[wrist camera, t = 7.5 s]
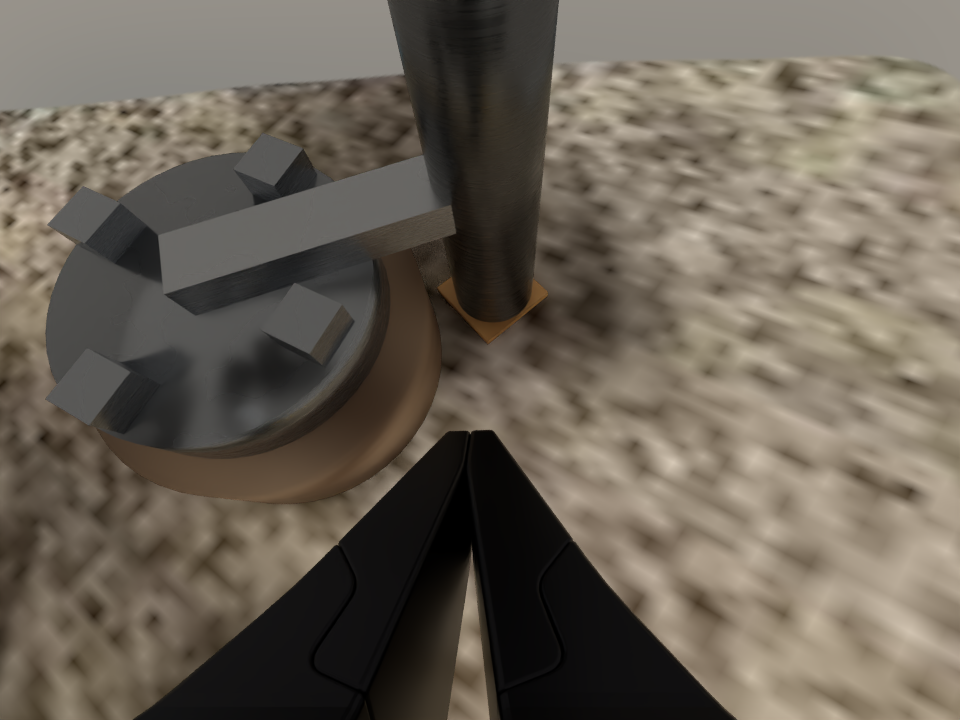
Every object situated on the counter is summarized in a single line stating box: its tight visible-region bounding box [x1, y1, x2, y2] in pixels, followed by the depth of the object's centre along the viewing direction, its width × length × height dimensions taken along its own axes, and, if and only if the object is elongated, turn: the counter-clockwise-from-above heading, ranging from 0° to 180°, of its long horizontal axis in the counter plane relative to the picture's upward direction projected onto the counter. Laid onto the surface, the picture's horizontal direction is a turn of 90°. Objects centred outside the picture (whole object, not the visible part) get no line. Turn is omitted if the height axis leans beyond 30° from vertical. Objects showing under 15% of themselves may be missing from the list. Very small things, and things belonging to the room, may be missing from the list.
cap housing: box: [97, 248, 548, 504], centre depth 17 cm, size 15×11×4 cm
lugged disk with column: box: [46, 0, 559, 459], centre depth 11 cm, size 14×9×15 cm, turn 108°
